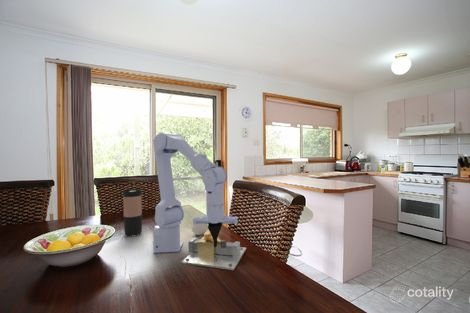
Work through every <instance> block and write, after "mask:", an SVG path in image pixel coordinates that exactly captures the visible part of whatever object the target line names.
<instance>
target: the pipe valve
mask: <svg viewBox="0 0 470 313" xmlns="http://www.w3.org/2000/svg"><path fill="white" fill-rule="evenodd" d="M218 239H220V237H219V236H218ZM187 245H188V253H189V254H190V253H192V252H194V251H195V252H198V254H203V255H212V256H214V255H215V254H222V255H231V256H232V257H237V256H238V255H239V253H240V247H241V242H240V241H237V240H236V241H235V242H230V241H226V246H227V247H226V248H221V247H220V246H219V245H217V247H214V242H212V241H210V240H205V239H204V236H203V237H201V238H200V239H199V238H198V237H194V236H193V237H192V238H190V240H188V241H187Z"/></svg>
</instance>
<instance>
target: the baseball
mask: <svg viewBox="0 0 470 313" xmlns="http://www.w3.org/2000/svg"><path fill="white" fill-rule="evenodd" d="M191 231H192V233H193V234H194V235H196V236H202V235H204V233H206V232H208V231H209V229H208V224H196V225H193V223H192V224H191Z"/></svg>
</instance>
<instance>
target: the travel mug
mask: <svg viewBox="0 0 470 313" xmlns="http://www.w3.org/2000/svg"><path fill="white" fill-rule="evenodd" d="M122 194H123V225H124V228H123V229H124V236H125V235H127V236H126V237H133V236H132V235H136V236H138V235H137V234H139V235H141V234H142V233H141V232H143V230H142V229H143V228H142V227H143V226H142V225H143V209H142V208H143V207H142V206H143V205H142V190H141V189H140V188H139V189H138V188H134V189H133V188H132V189H125V190H123V193H122ZM140 233H141V234H140Z"/></svg>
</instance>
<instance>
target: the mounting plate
mask: <svg viewBox="0 0 470 313" xmlns="http://www.w3.org/2000/svg"><path fill="white" fill-rule="evenodd" d="M246 250H247V247H242V246H240V253H239V255H238V256H237V257H232V256H231V255H222V254H215V255H214V256H212V255H203V254H198V252H195V251H194V252H192V253H189V254H188V255H187V256H186V257H185V258H184V259H183V260H181V262H180V263H181V264H183V265H190V266H198V267H204V268H205V267H206V268H212V269H213V268H214V269H220V270H221V269H222V270H230V271H235V269H236V267H237V266H238V264H239V262H240V260H241V259H242V257H243V256H244V253H245V252H246Z"/></svg>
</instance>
